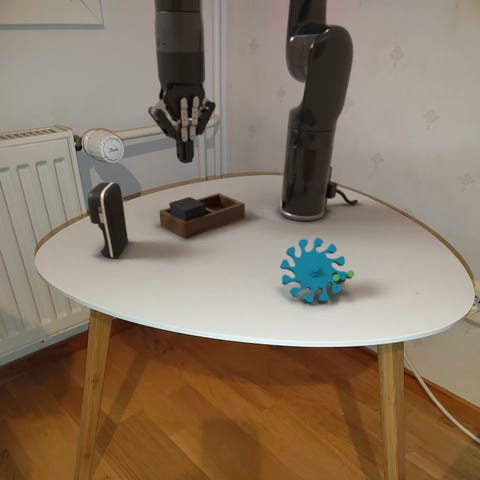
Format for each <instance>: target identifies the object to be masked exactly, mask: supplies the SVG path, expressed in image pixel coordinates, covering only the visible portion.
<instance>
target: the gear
mask: <svg viewBox="0 0 480 480" xmlns="http://www.w3.org/2000/svg"><path fill="white" fill-rule="evenodd" d="M308 244H309V239H307V238H303V239H301V238H300V239H299V240H298V246H299V248H300V256H299V257H298V256H296V247H295V246H294V245H293V246H290V247H288V248H287V249H286V250H285V254H286V255H287V256H289V257H290V258H291V259H292V260H293V262H294V265H293V266H292V265H290V263H289V261H288V259H285V258H284V259H282V261H281V263H280V264H279V265H280V266H279V268H280V269H281V270H288V271H289V272H291V273H292V274H293V275H294V277H291V276H290V275H288V274H282V277H281V283H282V284H283V285H288V284H290V283H298V284H299V285H300V287H295V286H293V287H292V288H290V290H289V294H290V295H291V296H292V297H293V298H296V297H298V295H299V293H300V292H301V291H303V290H305V289H306V290H307V289H308V290H310V292H309V293H308V294H306V295H304V297H303V298H302V299H303V301H304V302H305V303H308V304H311V303H312V302H313V301H314V294H315V292H316V290H321V294H320V295H319V296H318V301H319V302H324V303H325V302H328V301H329V300H330V296H329V295H328V293H327V284H330V285H331V293H332V294H333V295H337V294H338V293H340V291H342V286H341V285H343V284H344V283H345V282H346V281H347V280H351V279H353V277H354V276H355V271H354V270H352V269H351V270H349V271H347V272H346V271H344V270H338V269H336V268H335V267H334V266H333V264H336V265H337V266H338V267H343V266H344V265H345V264H346V259H345V256H343V255H341V256H339V257H336V258H331V257H327V254H331V255H333V254H335V253H336V252H337V251H338V247H336V245H335V244H334V243H329V245H328V247H327V248H326V249H325V250H323V251H318V250H317V248H320V247H322V245H323V244H324V240H323V239H322V238H321V237H315V239H314V240H313V247H312V248H311V250H310V251H306V247H307V246H308Z"/></svg>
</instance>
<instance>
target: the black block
mask: <svg viewBox="0 0 480 480" xmlns="http://www.w3.org/2000/svg"><path fill="white" fill-rule="evenodd" d="M169 208H170V214H172V215H174V216H176V217H178V218H180V219H182V220H184V221H185V222H186V221H189V220H192V219H195V218H198V217H201V216H204V215H206V204H204V203H202V202H200V201H198V200H197V199H196V198H194V197H192V196H189V197H185V198H181V199H178V200H174V201H170V202H169Z"/></svg>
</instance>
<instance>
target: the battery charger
mask: <svg viewBox="0 0 480 480" xmlns="http://www.w3.org/2000/svg"><path fill="white" fill-rule="evenodd" d="M87 207H88V214H89V219H90V223H91V224H94V225H97V227H98V228H99V229H100V230H101V232H102V237H103V241H104V246H103V247H102V249H101V250H100V254H101V256H103V257H107V258H114V259H115V258H117V257H118V256H119V255H120V254H121V252H122V251H123V250H124V248H125V247H126V245H127V244H128V242H129V237H128V230H127V223H126V222H127V221H126V215H125V207H124V201H123V194H122V189H121V186H120V184H119V183H117V182H115V181H114V182H106V181H105V182H104V181H103V182H100V183H98V184H97V185H95V186H94V187H93V188H92V189H91V190H90V191H89V192H88V195H87Z"/></svg>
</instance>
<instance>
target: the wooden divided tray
mask: <svg viewBox="0 0 480 480" xmlns="http://www.w3.org/2000/svg"><path fill="white" fill-rule="evenodd" d="M196 200H198V201H200V202H202V203H204V204H206V215H204V216H201V217H198V218H195V219H192V220H189V221H186V222H185V221H184V220H182V219H180V218H178V217H176V216H174V215H172V214H170V207H167V208H165V209H160V210H159V221H160V226H161V227H163V228H164V229H165V230H168V231H170V232H172V233H173V234H175V235H177V236H179V237H180V238H183V239H185V240H188V239H190V238H193V237H196V236H199V235H201V234H204V233H206V232H210V231H213V230H216V229H218V228H221V227H224V226H227V225H229V224H231V223H235V222H237V221H241V220H242V219H245V217H246V215H245V214H246V204H245V203H244V202H242V201H239V200H237V199H234V198H233V197H229V196H227V195H225V194H222V193H220V192H218V193H214V194H211V195H207V196H205V197H200V198H198V199H196Z"/></svg>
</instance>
